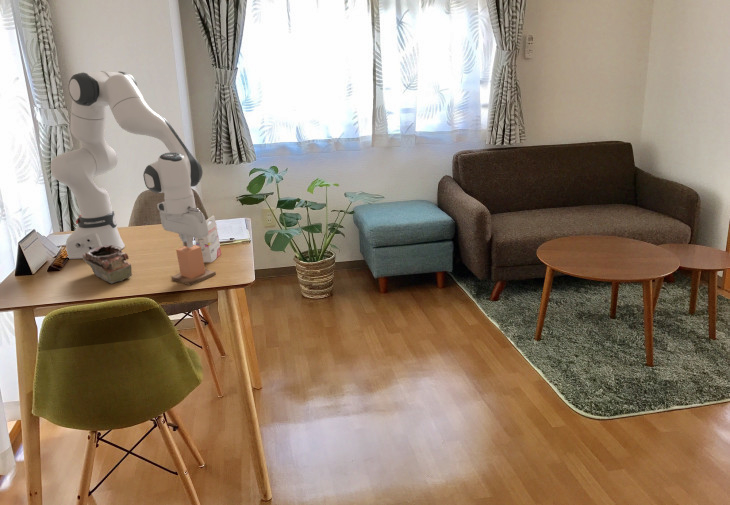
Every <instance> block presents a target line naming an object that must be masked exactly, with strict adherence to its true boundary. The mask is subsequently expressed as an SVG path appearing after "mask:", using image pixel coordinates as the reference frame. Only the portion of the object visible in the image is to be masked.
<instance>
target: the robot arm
mask: <svg viewBox="0 0 730 505" xmlns="http://www.w3.org/2000/svg"><path fill="white" fill-rule="evenodd" d="M68 91H69V95H70V97H71V99H72V102H71V109H70V125H69V126H70V127H69V128H70V129H69V130H70V132H71V135H72V136H73V137H74V138H75V139H76V140H78V141H79V142H80V147H79V148H77V149H73V150H68V151H64V152H62V153H60V154H58V155H56V156H55V157H53V158H52V159H51V162H50V171H51V174H52V176H53V177H54V179H55V180H57V181H58V182H59V183H61V184H64V185H65V186H67V187H68V188H69V189H70V191H71V192H72V194H73V196H75V199H76V202H77V206H78V209H79V212H80V213H79V214H80V215H79V216H78V218H76V220H75V224H76V225H78V227H77V228H76V229H74V231H73V232H72V233H70V235H69V236H68V237H67V239H66V241H65V250H66V251H67V254H68V256H67V257H68V258H69V260H73V259H75V260H76V259H83V256H82V255H83V254H85V253H87V252H89V251H90V250H92V249H94V248H98V247H102V246H106V245H114V246H119V247H121V248H122V249H124V248H125V247H126V245H125V243H124V241H123V239H122V237H121V235H120V232H119V229H118V227H117V225H118V222H117V217H116V214H115V211H114V210H113V207H112V203H111V198H110V194H109V191H107V189H105V188H103V187H100V186H98V185H97V184H96V183H95V180H94V178H95V177H98V176H101V175H104V174H106V173H108V172H110V171H112V170H113V169H115V168H116V167H117V166H118V159H119V158H118V155H117V152H116V150H115V149H114V148H113V147H111V146H110V145H109V143H108V142H107V140H106V135H105V133H106V132H105V129H106V117H107V116H106V114H107V106H109V110H111V113H112V115H113V117H114V120H115V121H116V123H117V124H118V126H119V127H120V128H121V129H122V130H124V131H126V132H128V133H130V134H134V135H138V136H139V135H140V136H141V135H142V136H146V137H147V136H148V137H150V138H151V137H152V138H155V139H158V140H159V141H160V142H162V143H163V144H164V146H165V147H166V149H167V150H168V151H169V152H165V153H162V154H161V155H159V157H158V159H157V160H156V161H155V162H153V163H150V164H148V165H147V166H146V167H145V169H144V171H143V175H142V176H143V180H144V184H145V187H146V188H147V189H148V190H149V191H151V192H153V193H155V194H162V193H163V195H164V197H163V198H164V201H162V202H158V203H157V204H156V206H157V210H158V211H159V216H160V222H161V226H162V228H163V230H164V231H166V232H170V233H175V234H178V237H179V239H180V241H181V242H182V247H188V248H191V247H193V245H194V243H193V241H194V239H195V238H203V237H206V236H207V235H208V227H207V223H206V220H207V219H206V217H205V214H204V213H203V212H202V211H201V210H200V209H199V208H198V207H197V205H196V202H195V201H196V200H195V196H194V191H193V190H192V187H193V188H194V187H197V185H198V184H199V183H200V182H201V180H202V178H203V175H204V174H203V173H204V172H203V167H202V164H201V163H200V162H199V161H198V159H197V158H196V157H195V156H194V155H193V154H192V153H191V152H190V151H189V149H188V148H187V146H186V145H185V143H184V142H183V141H182V139H181V137H180V136H179V135H178V133H177V132H176V131H175V129H174V128H173V127H172V125H171V124H170V122H169V121H168V120H167V119H166V118H165V117H164V116H163V115H161V114H158V113H157V112H155V110H153V109H152V108H151V107H150V106H149V104H148V103H147V102H146V99H145V97H144V95H143V93H142V92H141V90H140V88H139V87H138V84H137V81H136V79H135V78H134V76H133V75H132V74H130V73H127V72H124V71H108V70H104V71H103V70H100V71H91V72H78V73H76V74H73V75H71V77H70V79H69V81H68Z"/></svg>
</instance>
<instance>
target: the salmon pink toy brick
mask: <svg viewBox="0 0 730 505" xmlns="http://www.w3.org/2000/svg"><path fill="white" fill-rule="evenodd" d="M175 250H176V251H175V252H176V257H177V261H178V267H179V271H180V272H179V273H181V276H184V277H187V278H191V279H192V278H194V277H197V276H199V275H202V274H204V273H206V272H205V269H206V267H205V262H204V261H203V255H202V250H201V247H199V246H196V244H193V247H191V248H188V247H184V246H182V247H180V248H177V249H175Z"/></svg>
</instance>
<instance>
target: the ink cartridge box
mask: <svg viewBox="0 0 730 505" xmlns="http://www.w3.org/2000/svg"><path fill="white" fill-rule="evenodd" d="M205 220H206V223H207V227H208V235H207V236H206V237H203V238H195V237H194V241H195V246H199V247H201V250H202V255H203V261H204V263H213V262H214V261H215V260H216V259H217V258H218V257H220V256H221V255H222V249H221V244H220V238H219V232H218V227H217V222H216V218H215V215H212V216H210V217H209V218H207V219H205Z"/></svg>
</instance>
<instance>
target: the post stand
mask: <svg viewBox="0 0 730 505" xmlns="http://www.w3.org/2000/svg"><path fill="white" fill-rule="evenodd" d="M205 272H206V273H204V274H202V275H199V276H197V277H194V278H192V279H191V278H187V277H184V276H181V273H180V272H179V273H177V274H174V275H171V280H173V281H176V282H179V283H182V284H186V285H188V286H192V285H194V284H196V283H199V282H202V281H204V280H207V279H209V278H211V277H214V276H216V274H217V273H216V271H213V270H210V269H206V268H205Z"/></svg>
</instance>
